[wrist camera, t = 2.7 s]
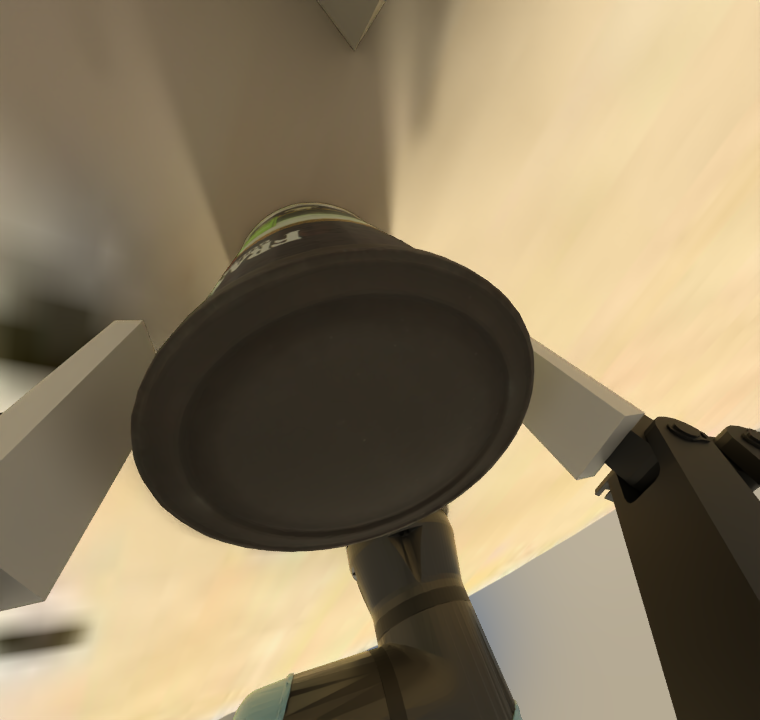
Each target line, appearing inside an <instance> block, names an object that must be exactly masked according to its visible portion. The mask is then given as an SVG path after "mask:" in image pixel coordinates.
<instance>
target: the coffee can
mask: <svg viewBox="0 0 760 720" xmlns="http://www.w3.org/2000/svg"><path fill="white" fill-rule="evenodd" d="M533 383H534V352H533V347H532V344H531V340H530V335H529V333H528V331H527V328H526V326H525V324H524V322H523V320H522V318H521V316H520V314H519V312H518V311H517V310H516V308H515V307H514V306H513V305H512V303H511V302H510V301H509V299H508V298H507V297H506V296H505V295H504V294H503V293H502V292H501V291H500V290H499V289H497V288H496V287H495V286H493V285H492V284H491V283H490V282H489V281H487V280H486V279H484V278H483V277H481V276H480V275H478V274H476V273H475V272H473V271H472V270H470V269H468V268H466V267H465V266H462V265H460V264H458V263H456V262H454V261H451V260H449V259H447V258H445V257H442V256H439V255H436V254H433V253H430V252H427V251H423V250H419V249H415V248H413V247H411V246H410V245H408V244H406V243H404V242H403V241H402V240H399V239H397V238H395V237H393V236H391V235H388V234H386V233H385V232H383V231H381V230H379V229H377V228H376V227H374V226H372V225H370V224H368V223H366V222H364V221H363V220H362V219H360V218H359V217H357V216H356V215H354V214H352V213H351V212H349V211H347V210H345V209H342V208H339V207H336V206H333V205H329V204H323V203H299V204H294V205H290V206H287V207H284V208H282V209H280V210H277V211H276V212H274V213H272V214H271V215H269V216H267V217H266V218H265V219H264V220H262V221H261V222H260V223H259V224H258V225H257V226H256V227H255V228H254V229H253V230H252V232H251V233H250V235H249V236H248V237H247V239H246V240H245V242H244V245H243V247H242V249H241V251H240V252H239V254H238V255H237V256H236V258H235V259H234V261H233V262H232V263H231V265H230V266H229V267H228V269H227V270H226V271H225V273H224V274H223V275H222V277H221V279H220V280H219V281H218V283H217V284H216V286H215V287H214V289H213V290H212V292H211V293H210V295H209V296H208V297H207V299H206V300H205V301H204V302H203V303H202V304H201V305H200V306H199V307H197V308H196V309H195V310H194V311H193V312H192V313H191V314H190V315H189V316H188V317H187V318H186V319H185V320H184V321H183V322H182V324H181V325H180V326H179V327H178V328H177V329H176V330H175V332H174V333H173V334H172V335H171V336H170V337H169V339H168V340H167V341H166V342H165V343H164V344H163V346H162V347H161V348H160V349H159V350H158V352H157V353H156V355H155V357H154V359H153V360H152V362H151V364H150V366H149V367H148V369H147V371H146V373H145V376H144V378H143V380H142V382H141V385H140V387H139V389H138V391H137V396H136V400H135V404H134V407H133V411H132V414H131V443H132V451H133V456H134V460H135V463H136V466H137V469H138V472H139V474H140V476H141V478H142V480H143V481H144V483H145V484H146V486H147V487H148V489H149V490H150V492H151V493H152V494H153V496H154V497H155V499H156V500H157V501H158V502H159V504H160V505H161V506H162V507H163V508H165V509H166V510H167V511H168V512H169V513H171V514H172V515H173V516H174V517H176V518H177V519H178V520H180V521H181V522H183V523H184V524H186V525H188V526H189V527H191V528H193V529H194V530H196V531H198V532H200V533H202V534H204V535H206V536H208V537H211V538H213V539H216V540H219V541H222V542H225V543H229V544H233V545H237V546H241V547H245V548H252V549H258V550H266V551H283V552H296V551H315V550H325V549H332V548H339V547H344V546H348V545H353V544H357V543H361V542H365V541H368V540H371V539H375V538H378V537H382V536H384V535H387V534H390V533H393V532H395V531H397V530H400V529H402V528H405V527H407V526H409V525H411V524H413V523H415V522H417V521H419V520H421V519H423V518H425V517H427V516H429V515H431V514H433V513H434V512H436V511H438V510H439V509H441V508H443V507H444V506H446V505H447V504H449V503H450V502H452V501H453V500H455V499H456V498H457V497H459V496H460V495H462V494H463V493H464V492H465V491H467V490H468V489H469V488H470V487H472V486H473V485H474V484H475V483H476V482H477V481H479V480H480V479H481V478H482V477H483V476H484V475H485V474H486V473H487V472H488V471H489V470H490V469H491V468H492V467H493V465H494V464H495V463H496V462H497V461H498V459H499V458H500V457H501V456H502V455H503V453H504V452H505V451H506V449H507V448H508V446H509V445H510V443H511V442H512V440H513V439H514V437H515V436H516V434H517V432H518V430H519V428H520V426H521V424H522V422H523V420H524V417H525V415H526V412H527V409H528V407H529V403H530V399H531V396H532V391H533Z"/></svg>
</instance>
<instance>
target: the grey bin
mask: <svg viewBox="0 0 760 720" xmlns="http://www.w3.org/2000/svg"><path fill="white" fill-rule="evenodd" d="M317 1H318V3H319V4H320V5H321V7H322V8H323V9H324V11H325V12H326V13H327V15H328V16H329V17H330V19H331V20H332V21H333V23H334V24H335V26H336V27H337V28H338V30H339V31H340V32H341V34H342V35H343V36H344V38H345V39H346V40H347V42H348V43H349V45H350V46H351V47H352V49H353V50H354V51H355V49H356V48H357V46H358V44H359V43H360V41H361V40H362V38H363V36H364V35H365V33H366V32H367V30H368V28H369V27H370V25H371V24H372V22H373V20H374V19H375V17H376V15H377V14H378V12H379V11H380V9H381V7H382V6H383V4H384V3H385V1H386V0H317Z"/></svg>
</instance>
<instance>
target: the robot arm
mask: <svg viewBox="0 0 760 720" xmlns="http://www.w3.org/2000/svg"><path fill="white" fill-rule="evenodd" d="M530 340H531V344H532V347H533V352H534V383H533V391H532V396H531V399H530V403H529V407H528V409H527V412H526V415H525V417H524V420H523V422H522V423H523V424H524V425H525V426H526V427H527V428H528V429H529V430H530V431H531V433H532V434H533V435H534V436H535V437H536V438H537V439H538V440H539V441H540V442H541V443H542V444H543V445H544V446H545V447H546V448H547V449H548V450H549V452H550V453H551V454H552V455H553V456H554V457H555V458H556V459H557V460H558V461H559V462H560V463H561V464H562V465H563V466H564V467H565V468H566V470H567V471H568V472H569V473H570V474H571V475H572V476H573V477H574V478H575V479H576V480H579V479H583V478H588V477H592V476H595V475H596V473H597V472H598V471H599V470H600V468H601V467H602V466H603V465H604V463H605V464H607V465H608V466H609V467H610V468H611V469H612V470H611V472H610V473H609V474H608V475H607V476H606V478H605V479H604V480H603V481H602V482H601V484H600V485H599V486H598V487H597V488H596V489H595V495H597V496H600V495H601V493H602V492H603V491H604V490H605V489H608V490H610V491H609V492H608V494H607V495H606V496H605V499H607V500H610V501H612V502H614V504H615V508H616V511H617V515H618V518H619V521H620V525H621V528H622V532H623V535H624V539H625V542H626V546H627V549H628V552H629V556H630V559H631V563H632V566H633V570H634V573H635V576H636V580H637V583H638V587H639V590H640V593H641V597H642V600H643V604H644V607H645V611H646V614H647V618H648V621H649V625H650V628H651V631H652V635H653V638H654V642H655V644H656V649H657V652H658V655H659V658H660V662H661V666H662V669H663V672H664V676H665V679H666V683H667V686H668V690H669V693H670V697H671V700H672V703H673V707H674V710H675V713H676V717H677V720H760V501H759V499H758V498H757V497H756V496H755V495H754V493H753V491H754V490H756V489H757V488H759V487H760V432H757V431H756V430H753V429H747V428H743V427H740V426H731V425H730V426H728V427H726V428H725V429H724V430H723V431H722V432H721V433H720V434H719V435H718V436H717V437H708V436H707V435H706V434H705V433H703V432H701V431H699V430H698V429H696V428H694V427H692V426H690V425H688V424H686V423H684V422H682V421H679V420H676V419H673V418H668V417H657V418H656V419H655V420H652V419H650V418H649V417H647V416H646V415H644V414H645V413H644V412H643V411H641V410H640V409H638V408H637V407H635V406H634V405H632V404H631V403H629V402H628V401H626V400H625V399H623V398H622V397H620V396H619V395H617V394H616V393H614V392H613V391H611V390H610V389H608V388H607V387H605V386H604V385H602V384H601V383H599V382H598V381H596V380H595V379H593V378H592V377H590V376H589V375H587V374H586V373H584V372H583V371H581V370H580V369H578V368H577V367H575V366H574V365H572V364H571V363H569V362H568V361H566V360H565V359H563V358H562V357H560V356H559V355H557V354H556V353H554V352H553V351H551V350H550V349H548V348H547V347H545V346H544V345H542V344H541V343H539V342H538V341H536V340H535V339H533V338H532V337H530ZM155 355H156V353H155V351H154V348H153V345H152V342H151V340H150V337H149V334H148V332H147V329H146V326H145V324H144V321H143V320H115V321H114V322H112V323H111V324H110V325H109V326H107V327H106V328H105V329H104V330H103V331H101V332H100V333H99V334H98V335H97V336H95V337H94V338H93V339H92V340H91V341H89V342H88V343H87V344H86V345H84V346H83V347H82V348H81V349H80V350H78V351H77V352H76V353H75V354H74V355H72V356H71V357H70V358H69V359H68V360H66V361H65V362H64V363H63V364H62V365H60V366H59V367H58V368H57V369H55V370H54V371H53V372H52V373H51V374H49V375H48V376H47V377H46V378H45V379H43V380H42V381H41V382H40V383H39V384H37V385H36V386H35V387H34V388H33V389H31V390H30V391H29V392H28V393H26V394H25V395H24V396H23V397H22V398H20V399H19V400H18V401H17V402H16V403H14V404H13V405H12V406H11V407H10V408H8V409H7V410H6V411H5V412H3V413H0V611H3V610H8V609H12V608H17V607H21V606H25V605H30V604H34V603H39V602H43V601H45V600H46V598H47V596H48V595H49V593H50V591H51V589H52V588H53V586H54V584H55V582H56V581H57V579H58V577H59V576H60V574H61V572H62V570H63V569H64V567H65V565H66V563H67V562H68V560H69V558H70V556H71V555H72V553H73V551H74V549H75V548H76V546H77V544H78V542H79V541H80V539H81V537H82V536H83V534H84V532H85V530H86V529H87V527H88V525H89V523H90V522H91V520H92V518H93V516H94V515H95V513H96V511H97V509H98V508H99V506H100V504H101V502H102V501H103V499H104V497H105V496H106V494H107V492H108V490H109V489H110V487H111V485H112V483H113V482H114V480H115V478H116V476H117V475H118V473H119V471H120V469H121V468H122V466H123V464H124V462H125V461H126V459H127V457H128V456H129V454H130V452H131V450H132V443H131V414H132V411H133V407H134V404H135V400H136V396H137V391H138V389H139V387H140V385H141V382H142V380H143V378H144V376H145V373H146V371H147V369H148V367H149V366H150V364H151V362H152V360H153V359H154V357H155ZM347 555H348V561H349V568H350V571H351V574H352V576H353V578H354V579H355V580H356V581H357V584H358V587H359V589H360V592H361V594H362V597H363V599H364V601H365V603H366V605H367V607H368V610H369V612H370V614H371V616H372V619H373V622H374V627H375V632H376V637H377V642H378V648H375V649H372V650H369V651H365V652H362V653H359V654H356V655H353V656H350V657H347V658H344V659H341V660H338V661H335V662H332V663H329V664H326V665H322V666H319V667H316V668H313V669H310V670H307V671H304V672H301V673H298V674H295V675H294V673H292V674H289V675H288V676H287V677H286V678H285V679H282V680H280V681H277V682H275V683H272V684H270V685H267V686H265V687H262V688H260V689H257V690H255V691H253V692H252V693H250V694H249V695H248V696H247V697H246V698H245V699H244V700H243V702H242V703H241V704H240V706H239V708H238V709H237V711H236V713H235V716H234V718H233V720H522V718H521V715H520V711H519V707H518V705H517V703H516V701H515V700H514V699H513V697H512V695H511V693H510V691H509V688H508V686H507V684H506V681H505V679H504V677H503V674H502V672H501V670H500V668H499V665H498V663H497V661H496V659H495V656H494V654H493V652H492V650H491V647H490V645H489V643H488V641H487V638H486V636H485V634H484V631H483V629H482V627H481V624H480V622H479V620H478V618H477V615H476V613H475V611H474V609H473V606H472V604H471V602H470V600H469V597H468V595H467V593H466V590H465V588H464V586H463V583H462V580H461V574H460V568H459V563H458V557H457V551H456V545H455V540H454V533H453V529H452V527H451V525H450V522H449V520H448V518H447V516H446V514H445V512H444V511H443V510H441V509H439V510H438V511H436V512H434V513H433V514H431V515H429V516H427V517H425V518H423V519H421V520H419V521H417V522H415V523H413V524H411V525H409V526H407V527H405V528H402V529H400V530H397V531H395V532H393V533H390V534H387V535H384V536H382V537H378V538H375V539H371V540H368V541H365V542H361V543H357V544H353V545H348V548H347Z"/></svg>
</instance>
